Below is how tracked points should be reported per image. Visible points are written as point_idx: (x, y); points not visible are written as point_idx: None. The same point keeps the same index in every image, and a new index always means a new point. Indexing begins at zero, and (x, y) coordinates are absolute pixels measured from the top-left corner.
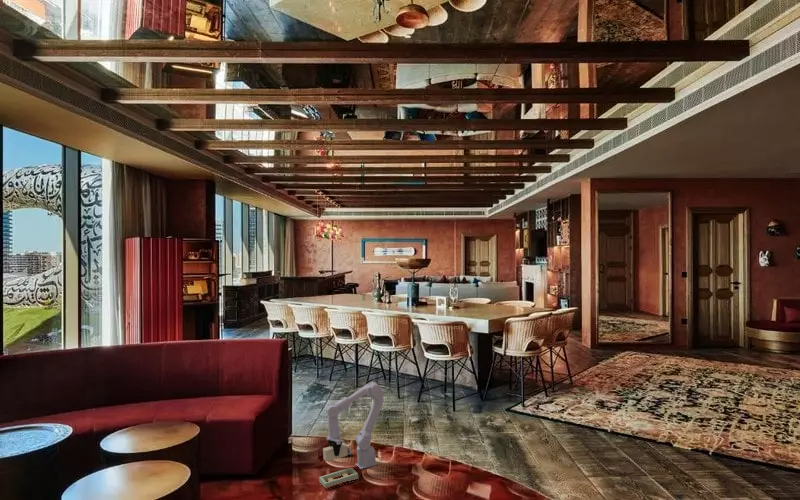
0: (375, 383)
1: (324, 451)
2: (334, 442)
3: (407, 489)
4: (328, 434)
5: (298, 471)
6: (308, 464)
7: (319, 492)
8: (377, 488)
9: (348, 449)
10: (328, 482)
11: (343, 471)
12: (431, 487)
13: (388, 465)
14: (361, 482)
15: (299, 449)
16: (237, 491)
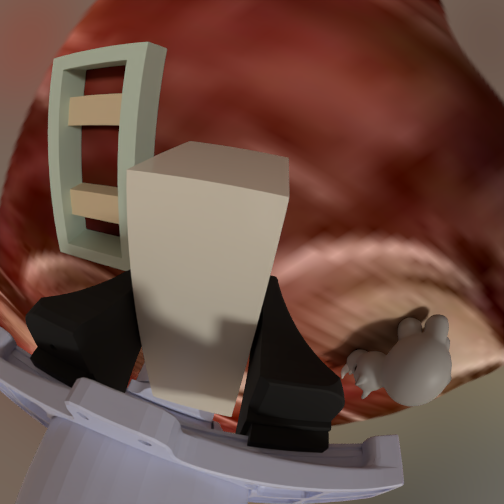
0: None
1: (191, 170)
2: (246, 395)
3: (2, 286)
4: (387, 475)
5: (452, 55)
6: (483, 158)
7: (79, 30)
8: (13, 243)
9: (356, 377)
10: (52, 81)
11: (120, 214)
12: (6, 317)
13: (136, 365)
14: (54, 230)
15: None
16: None
